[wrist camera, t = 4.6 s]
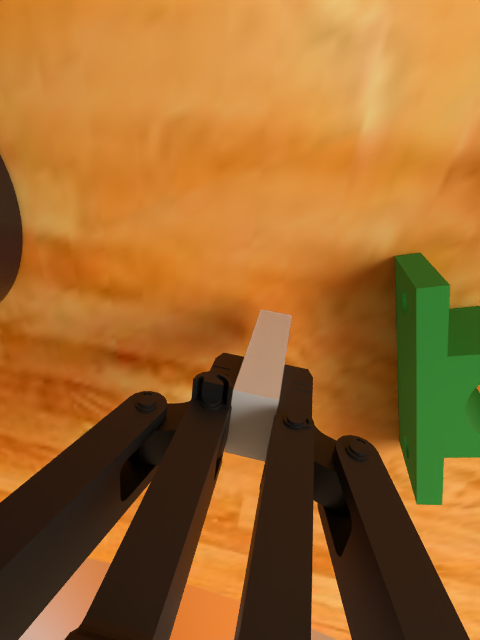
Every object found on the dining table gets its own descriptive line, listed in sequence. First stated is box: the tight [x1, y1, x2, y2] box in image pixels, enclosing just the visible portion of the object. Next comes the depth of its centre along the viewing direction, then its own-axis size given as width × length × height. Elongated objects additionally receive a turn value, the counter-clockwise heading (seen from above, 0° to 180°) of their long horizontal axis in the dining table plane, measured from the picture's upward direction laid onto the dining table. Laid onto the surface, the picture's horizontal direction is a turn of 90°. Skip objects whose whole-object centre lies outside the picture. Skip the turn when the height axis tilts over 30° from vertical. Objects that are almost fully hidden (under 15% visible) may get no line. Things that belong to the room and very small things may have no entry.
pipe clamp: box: [395, 253, 480, 505], centre depth 18 cm, size 11×4×5 cm, turn 11°
